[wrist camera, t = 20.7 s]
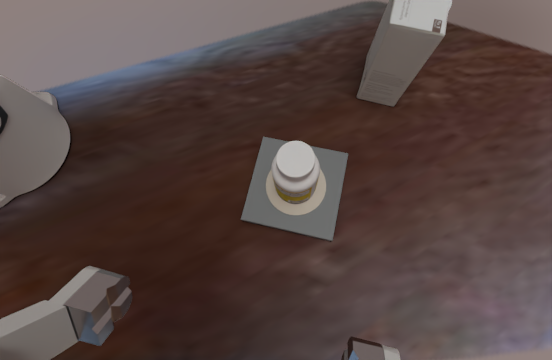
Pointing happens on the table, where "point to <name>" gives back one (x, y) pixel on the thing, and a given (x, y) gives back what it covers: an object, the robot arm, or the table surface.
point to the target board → (296, 217)
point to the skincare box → (402, 47)
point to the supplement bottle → (295, 172)
